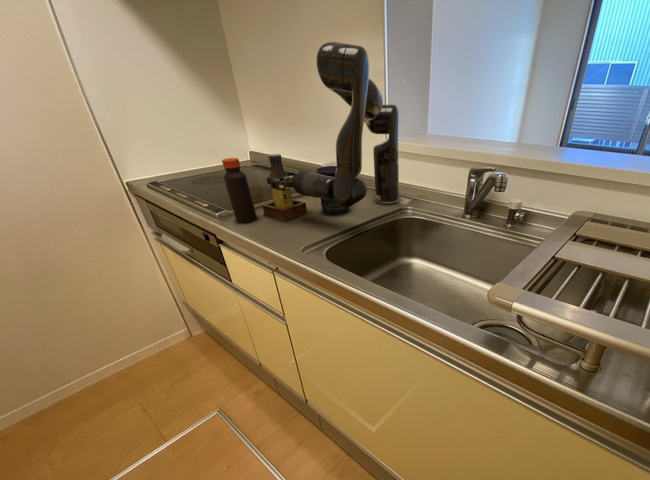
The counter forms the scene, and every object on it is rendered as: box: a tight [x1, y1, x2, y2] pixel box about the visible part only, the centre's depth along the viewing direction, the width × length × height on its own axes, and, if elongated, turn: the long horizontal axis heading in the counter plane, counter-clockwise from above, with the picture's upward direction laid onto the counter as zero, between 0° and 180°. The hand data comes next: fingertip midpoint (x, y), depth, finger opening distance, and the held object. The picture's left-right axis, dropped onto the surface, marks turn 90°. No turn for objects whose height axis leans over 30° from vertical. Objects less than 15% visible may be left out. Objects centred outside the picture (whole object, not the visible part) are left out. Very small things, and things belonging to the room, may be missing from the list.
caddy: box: [261, 198, 308, 222], centre depth 123 cm, size 10×11×4 cm
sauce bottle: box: [268, 153, 293, 209], centre depth 118 cm, size 7×6×20 cm
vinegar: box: [221, 157, 258, 224], centre depth 114 cm, size 7×7×20 cm
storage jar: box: [316, 166, 350, 217], centre depth 121 cm, size 10×10×15 cm
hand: (278, 177), depth 117 cm, fingers open, 8 cm apart
